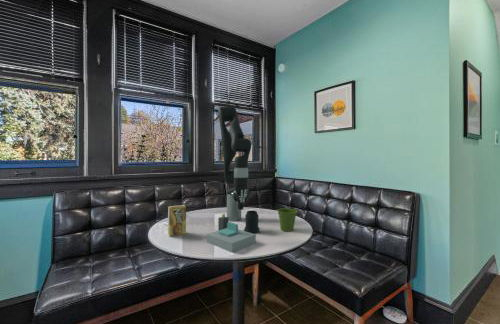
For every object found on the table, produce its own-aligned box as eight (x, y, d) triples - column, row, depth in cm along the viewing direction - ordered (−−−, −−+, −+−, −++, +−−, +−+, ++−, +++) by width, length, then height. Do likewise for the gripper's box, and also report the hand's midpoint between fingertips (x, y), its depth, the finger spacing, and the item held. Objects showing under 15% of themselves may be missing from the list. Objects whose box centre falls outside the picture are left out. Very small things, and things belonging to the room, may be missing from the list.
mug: (259, 234, 124) (259, 213, 124) (242, 233, 125) (242, 213, 125) (260, 227, 136) (260, 209, 135) (245, 227, 137) (245, 208, 137)
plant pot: (296, 234, 124) (296, 213, 124) (274, 231, 128) (275, 211, 128) (298, 227, 136) (298, 209, 135) (279, 225, 139) (279, 207, 139)
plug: (223, 230, 130) (223, 213, 130) (228, 231, 127) (228, 214, 127) (218, 231, 127) (218, 214, 127) (223, 233, 125) (223, 215, 124)
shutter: (228, 229, 118) (229, 221, 118) (238, 232, 113) (238, 224, 113) (218, 232, 112) (218, 224, 112) (227, 236, 108) (228, 227, 108)
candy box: (184, 232, 127) (184, 204, 126) (186, 234, 123) (186, 206, 123) (167, 234, 122) (167, 206, 122) (169, 236, 119) (169, 207, 118)
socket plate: (230, 234, 123) (230, 226, 123) (255, 242, 111) (255, 234, 111) (206, 242, 112) (206, 234, 111) (231, 252, 99) (231, 243, 99)
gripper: (244, 175, 126) (244, 206, 126) (226, 176, 117) (226, 210, 117) (254, 176, 121) (254, 208, 121) (237, 177, 112) (236, 212, 112)
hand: (240, 209), depth 119 cm, fingers closed
